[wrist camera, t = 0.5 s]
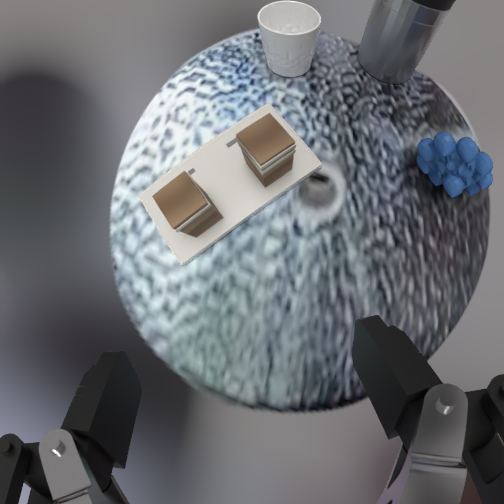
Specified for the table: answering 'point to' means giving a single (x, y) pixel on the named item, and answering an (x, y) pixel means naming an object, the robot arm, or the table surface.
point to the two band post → (267, 149)
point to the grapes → (455, 164)
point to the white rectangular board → (227, 185)
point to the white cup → (289, 36)
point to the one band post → (187, 206)
